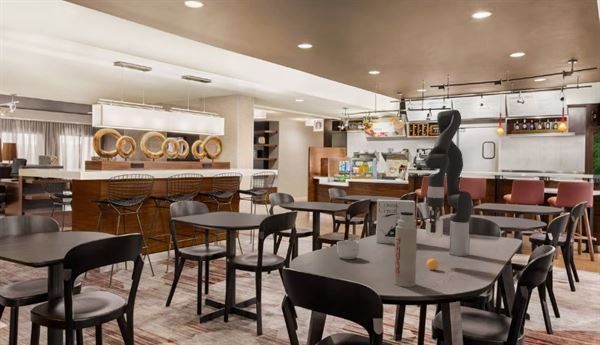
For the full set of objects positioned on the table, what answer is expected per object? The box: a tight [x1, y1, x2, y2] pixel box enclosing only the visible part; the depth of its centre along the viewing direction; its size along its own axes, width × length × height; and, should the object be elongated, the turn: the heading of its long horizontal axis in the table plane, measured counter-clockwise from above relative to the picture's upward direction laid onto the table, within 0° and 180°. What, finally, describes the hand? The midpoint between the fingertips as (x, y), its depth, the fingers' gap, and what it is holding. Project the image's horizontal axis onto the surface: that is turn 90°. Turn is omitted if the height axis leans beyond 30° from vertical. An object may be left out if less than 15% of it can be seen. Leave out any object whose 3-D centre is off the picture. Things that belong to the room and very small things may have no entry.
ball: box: [426, 258, 439, 271], centre depth 201 cm, size 5×5×5 cm
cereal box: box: [375, 199, 416, 245], centre depth 268 cm, size 22×8×25 cm, turn 81°
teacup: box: [336, 239, 360, 260], centre depth 223 cm, size 14×11×8 cm
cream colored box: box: [425, 218, 444, 239], centre depth 213 cm, size 7×7×8 cm
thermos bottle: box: [393, 212, 418, 288], centre depth 176 cm, size 8×8×28 cm
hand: (434, 231), depth 213 cm, fingers closed on cream colored box, 7 cm apart
